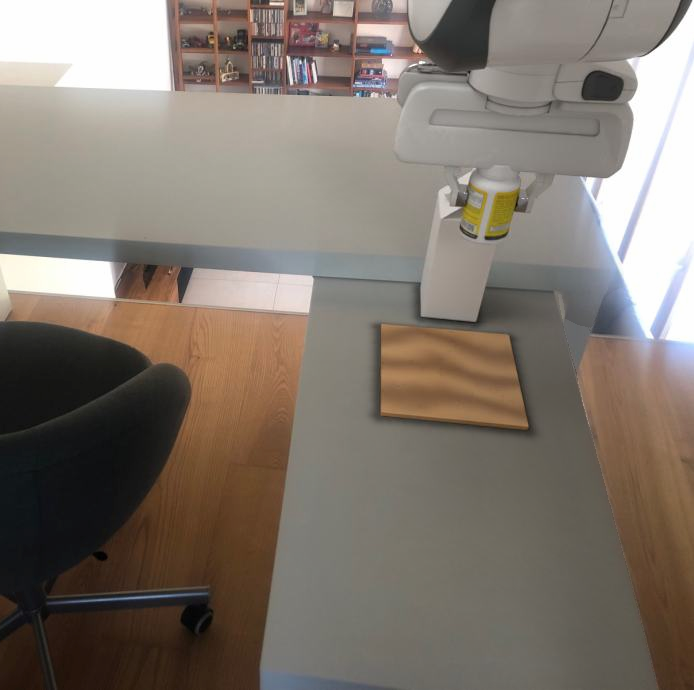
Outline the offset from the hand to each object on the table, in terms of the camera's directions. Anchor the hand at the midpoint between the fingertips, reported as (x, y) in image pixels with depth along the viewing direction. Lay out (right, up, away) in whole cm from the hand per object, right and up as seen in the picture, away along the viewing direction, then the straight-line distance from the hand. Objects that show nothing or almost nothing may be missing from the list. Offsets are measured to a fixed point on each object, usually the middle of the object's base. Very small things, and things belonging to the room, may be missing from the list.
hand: (489, 207), depth 68 cm
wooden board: (+1, -17, +15) cm, 23 cm away
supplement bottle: (0, -2, +2) cm, 3 cm away
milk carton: (+4, -8, +26) cm, 27 cm away
